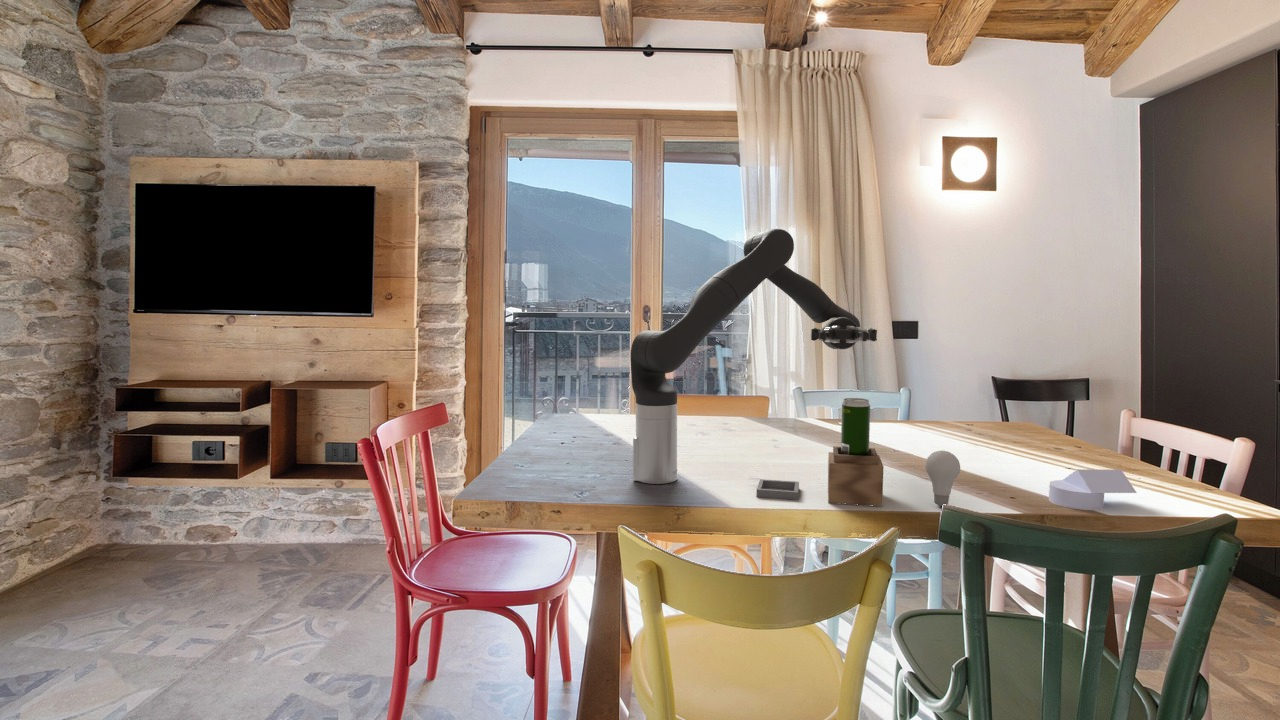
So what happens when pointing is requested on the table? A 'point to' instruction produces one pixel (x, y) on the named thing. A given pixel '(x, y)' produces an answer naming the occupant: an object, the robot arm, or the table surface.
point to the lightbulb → (942, 474)
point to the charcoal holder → (778, 493)
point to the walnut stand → (855, 478)
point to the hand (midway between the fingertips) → (844, 336)
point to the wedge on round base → (1088, 488)
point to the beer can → (855, 427)
